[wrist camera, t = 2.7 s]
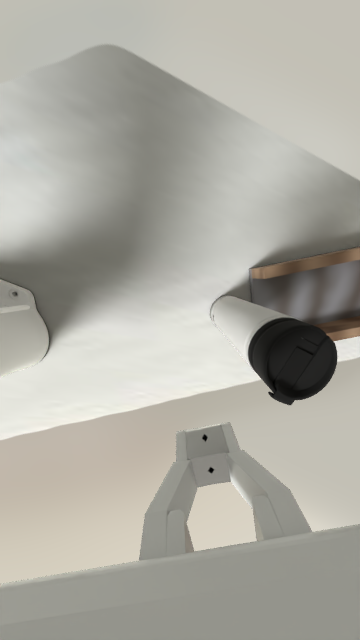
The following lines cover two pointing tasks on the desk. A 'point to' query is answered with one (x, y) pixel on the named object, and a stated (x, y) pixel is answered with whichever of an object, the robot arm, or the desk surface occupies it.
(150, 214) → the desk surface
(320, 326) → the u rest
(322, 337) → the travel mug
